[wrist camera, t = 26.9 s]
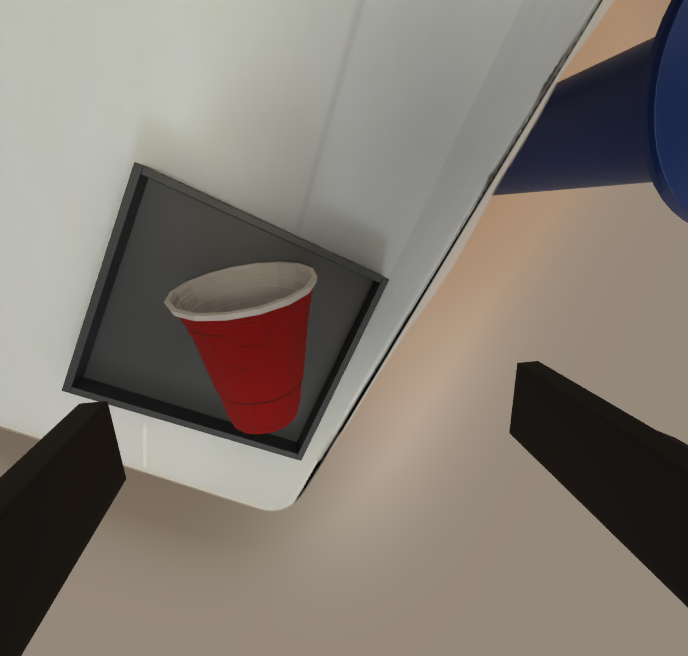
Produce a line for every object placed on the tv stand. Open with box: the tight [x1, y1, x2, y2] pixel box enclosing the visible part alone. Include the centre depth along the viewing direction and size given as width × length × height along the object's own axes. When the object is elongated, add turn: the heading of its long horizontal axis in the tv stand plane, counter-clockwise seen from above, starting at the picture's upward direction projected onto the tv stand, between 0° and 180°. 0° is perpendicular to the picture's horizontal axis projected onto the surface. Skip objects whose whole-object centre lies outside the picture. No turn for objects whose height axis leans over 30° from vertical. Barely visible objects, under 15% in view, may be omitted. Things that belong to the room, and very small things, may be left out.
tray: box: [62, 162, 389, 460], centre depth 33 cm, size 21×19×2 cm
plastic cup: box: [164, 261, 317, 435], centre depth 30 cm, size 11×11×12 cm
